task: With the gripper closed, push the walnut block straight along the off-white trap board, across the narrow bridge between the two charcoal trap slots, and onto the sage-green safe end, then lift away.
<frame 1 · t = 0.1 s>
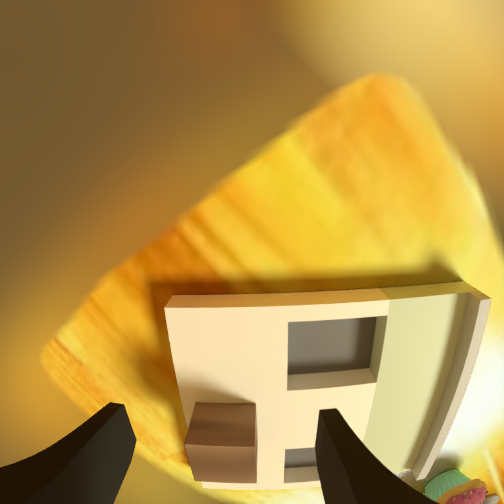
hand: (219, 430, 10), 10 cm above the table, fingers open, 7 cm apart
walnut block: (227, 423, 20), point 2 cm above the table, touching trap board
trap board: (324, 402, 22), on the table
cupcake: (441, 479, 25), on the table
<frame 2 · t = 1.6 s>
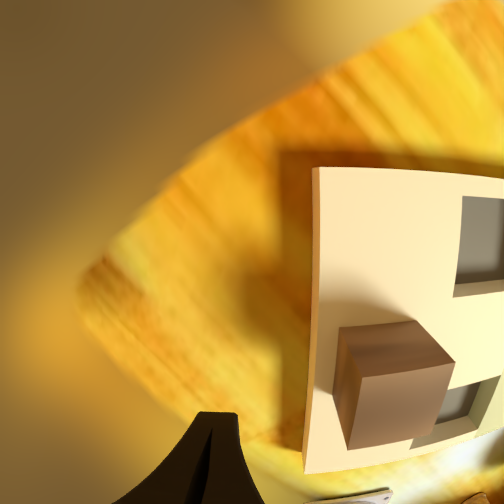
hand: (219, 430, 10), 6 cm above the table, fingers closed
walnut block: (374, 359, 14), point 2 cm above the table, touching trap board
sprinkles bottle: (468, 501, 22), on the table
trap board: (465, 327, 16), on the table
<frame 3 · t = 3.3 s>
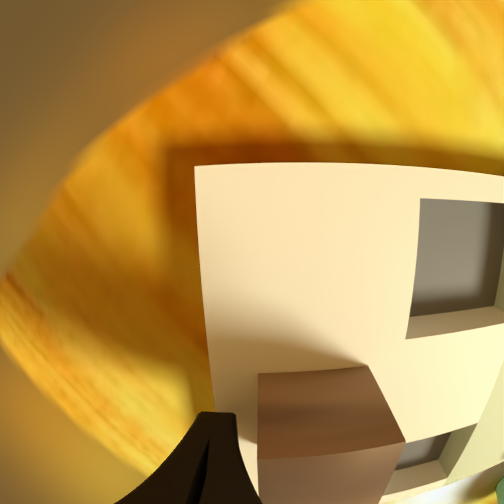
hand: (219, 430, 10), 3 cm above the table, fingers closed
walnut block: (311, 411, 11), point 2 cm above the table, touching gripper, trap board
trap board: (432, 367, 13), on the table
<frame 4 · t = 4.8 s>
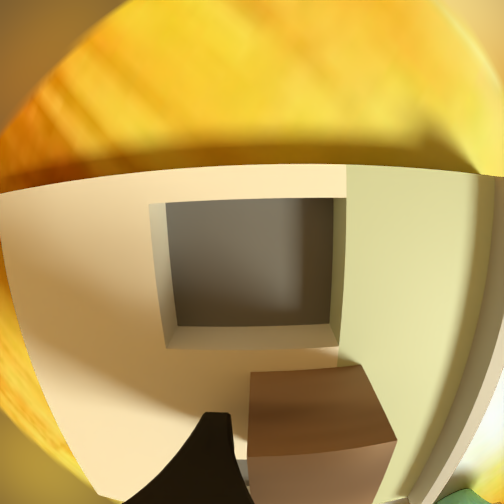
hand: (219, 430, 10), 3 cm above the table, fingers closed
walnut block: (304, 410, 11), point 2 cm above the table, touching gripper, trap board
trap board: (255, 384, 13), on the table
cupcake: (448, 501, 17), on the table
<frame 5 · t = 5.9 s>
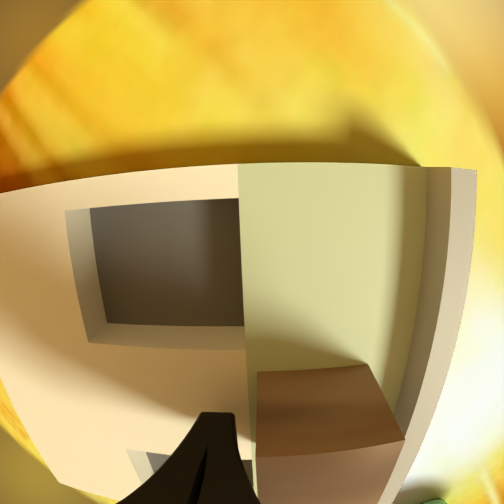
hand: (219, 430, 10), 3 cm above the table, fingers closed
walnut block: (311, 409, 11), point 2 cm above the table, touching gripper, trap board
trap board: (183, 382, 13), on the table
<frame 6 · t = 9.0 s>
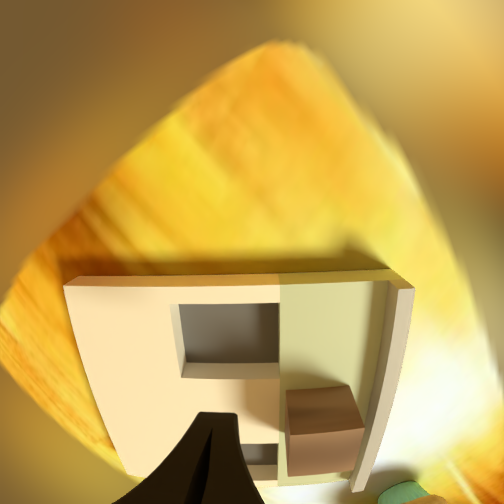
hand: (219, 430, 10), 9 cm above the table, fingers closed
walnut block: (315, 411, 19), point 2 cm above the table, touching trap board
trap board: (234, 396, 21), on the table
cupcake: (398, 490, 25), on the table
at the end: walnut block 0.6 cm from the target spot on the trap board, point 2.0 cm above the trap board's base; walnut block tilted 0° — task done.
